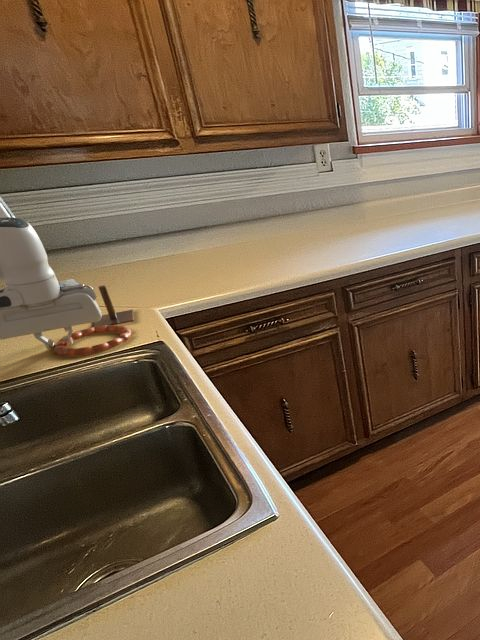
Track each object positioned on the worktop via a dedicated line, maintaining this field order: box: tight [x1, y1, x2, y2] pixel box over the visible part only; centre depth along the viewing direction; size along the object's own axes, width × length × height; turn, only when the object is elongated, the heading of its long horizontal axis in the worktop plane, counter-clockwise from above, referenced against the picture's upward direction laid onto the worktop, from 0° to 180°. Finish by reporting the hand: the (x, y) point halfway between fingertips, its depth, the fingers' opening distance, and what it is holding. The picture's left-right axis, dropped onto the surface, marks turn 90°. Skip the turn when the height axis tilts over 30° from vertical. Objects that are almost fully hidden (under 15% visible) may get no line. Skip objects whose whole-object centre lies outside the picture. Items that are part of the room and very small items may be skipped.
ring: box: [53, 324, 133, 357], centre depth 127 cm, size 16×16×2 cm
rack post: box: [93, 284, 135, 327], centre depth 137 cm, size 9×9×10 cm
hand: (60, 345), depth 124 cm, fingers closed on ring, 2 cm apart
